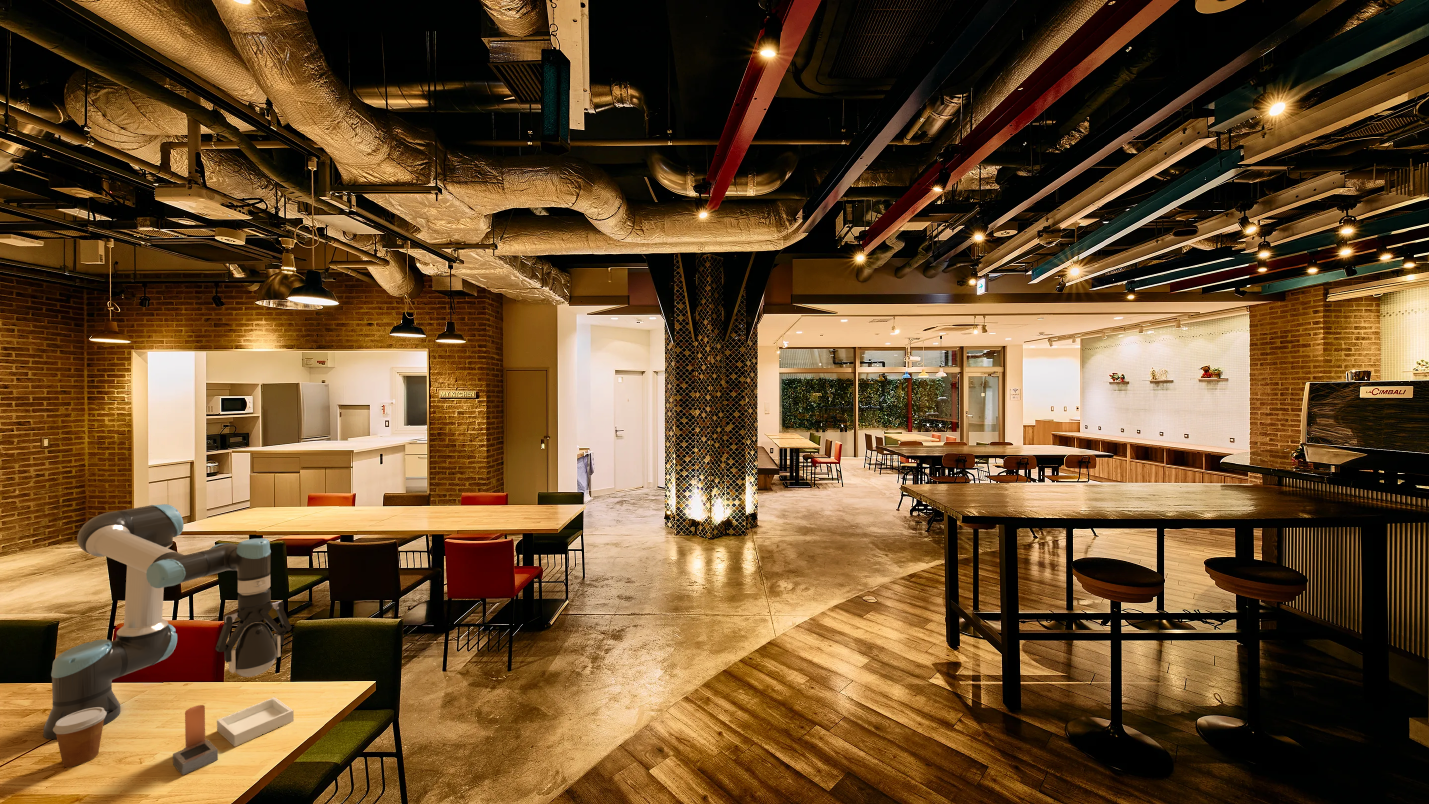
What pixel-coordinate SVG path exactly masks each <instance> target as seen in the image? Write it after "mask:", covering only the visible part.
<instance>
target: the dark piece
mask: <svg viewBox="0 0 1429 804" xmlns="http://www.w3.org/2000/svg"><path fill="white" fill-rule="evenodd" d="M234 650H235V664H236V672H235V673H236V674H237V675H238V676H241V677H244V678H247V677H248V678H249V677H255V676H258V675H261V674H263V673H265V672H266V671H267V672H268V670H269V669H271V667H273V665H274V663H275V662H276V658H278V657H277V649H276V644H275V641H274V635H273V633H272V631H271V630H270V628H269V626H268V625H267V624H266V623H264V622H262V621H256V622H254V623H251V624H248V625H247V627H246V628H245V629H244V630H243V632H242V634H241V635H240V637H239V639H238V640H237V642H236V646H235V648H234Z"/></svg>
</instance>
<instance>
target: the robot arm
mask: <svg viewBox="0 0 1429 804" xmlns="http://www.w3.org/2000/svg"><path fill="white" fill-rule="evenodd" d="M183 531H184V520H183V517H182V514H181V513H180V512H179V510H178V509H177V508H176V507H175V506H173V505H171V504H165V503H164V504H163V503H162V504H151V505H146V506H140V507H134V508H128V509H122V510H117V511H116V510H113V511H109V512H108V511H107V512H104V513H102V514H99V515H97V516H94V517H92V518H91V519H89V520H88V521H86V522H85V523H84V524H83V525H82V526H81V528H80V530H79V531H78V533H77V536H76V537H77V539H76V540H77V541H76V542H77V544H78V547H79V548H80V549H81V550H82V551H83V552H85V553H87V554H89V555H91V556H93V557H100V558H101V557H107V558H108V559H112V560H114V561H117V562H119V563H121V564H124V565H126V578H125V580H126V582H125V598H124V600H125V601H124V620H123V626H121V627H120V628H119V629H118V630H117V631H116V638H115V640H112V641H111V640H110V639H97V640H93V641H89V642H84V643H81V644H79V645H76V646H73V647H71V648H69V649H67V650H65V651H63V652H62V653H60V654H59V655H58V656H57V657H55V659H54V660H53V661H52V669H51V672H50V676H51V685H52V686H51V687H52V695H51V696H52V707H51V710H50V713H49V715H48V717H47V720H46V721H45V725H44V726H43V738H45V739H49V740H57V736H56V733H55V732H54V731H53V728H54V727H55V724H56V722H57V721H58V720H60V719H61V718H63V717H65V716H67V715H69V714H72V713H74V712H77V711H81V710H84V709H89V708H95V707H101V708H104V710H105V711H106V712H107V715H106V716H105V718H104V723H103V726H104V725H106V724H108V723H110V722H112V721H114V720H115V719H116V718H118V716H120V714H121V713H122V711H121V704H120V702H119V700H118V698H117V696H116V695H115V693H114V691H113V687H112V686H113V685H112V684H113V682H112V681H113V680H115V679H118V678H120V677H123V676H126V675H128V674H131V673H134V672H137V671H139V670H143V669H145V668H147V667H150V666H151V667H152V666H154V665H155V664H157V663H159V662H161V661H164V660H166V659H168V658H169V657H170V656H171V655H172V654H173V653H174V650H175V649H176V646H177V643H178V633H176V628H175V627H174V626H173V625H172V624H170V623H169V621H168V620H167V619H164V618H163V611H164V609H163V607H164V593H165V592H164V590H165V588H167V587H175V586H176V585H179V584H182V583H185V582H189V581H193V580H197V579H200V578H204V577H208V576H211V575H215V574H219V573H222V572H225V571H226V572H227V571H235V572H237V593H238V594H237V611H236V612H235V613H232V614H225V615H224V616H223V622H224V623H223V627H222V629H221V632H220V634H219V637H218V641H217V643H216V646H215V651H217V652H219V653H222V652H223V653H224V654H223V655H224V657H223V658H224V661H225V662H226V663H228V671H229V672H230V673H231V674H233V673H236V664H235V648H234V647H235V645H237V643H238V640H239V637H240V635H241V634H242V632H243V630H244V629H245V628H246V627H247V626H248V625H250V624H252V623H255V622H262V621H265V622H266V623H267V624H268V625H269V626H270V627H271V628H272V629H273V630H274V631H275V632H276V633H274V635H273V638H274V641H275V644H276V649H277V657H276V658H279V657H281V656H282V655H281V654H282V653H281V651H282V649H281V647H282V646H281V645H284V644H285V635H286V632H288V631H290V630H291V629H292V625H291V624H290V621H289V618H288V617H287V613H286V611H285V609H284V606H285V603H284V601H281V600H277V601H276V602H272V601H271V600H272V599H271V597H272V595H271V593H272V591H271V588H270V587H271V553H272V551H271V544H270V540H269V539H267V538H262V537H261V538H251V539H245V540H242V541H240V542H239V543H238V544H235V543H231V542H228V543H227V542H226V543H218V544H215V545H214V546H212V547H211V548H209V549H205V550H201V551H197V552H192V553H187V554H183V553H180V552H177V551H175V550H172V549H170V547H171V546H172V545H173V542H174V538H176V537H178V536H180V535H181V534H182V532H183ZM272 609H274V610H275V611H276V613H277V616H278V619H279V621H280V623H281V626H282V627H281V626H280V625H279V624H278V623H277V622H276V621H275V619H273V617H272V616H271V615H270V614H269V613H270V612H271V610H272ZM237 618H238V619H239V621H238V623H237V626H236V627H235V628H234V630H233V632H232V634H230V633H231V630H232V628H233V623H234V622H235V621H236V619H237ZM228 638H229V639H228Z"/></svg>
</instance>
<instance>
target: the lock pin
mask: <svg viewBox="0 0 1429 804" xmlns="http://www.w3.org/2000/svg"><path fill="white" fill-rule="evenodd" d="M184 723H185V724H184V725H185V726H184V731H185V732H184V733H185V737H184V739H185V747H186V748H188V747H190V746H193V745H195V744H198V743H200V742H202V741H205V740H206V706H205V705H203V704H199V705H195V706H191V707H190V708H187V709H186V710H185V712H184Z"/></svg>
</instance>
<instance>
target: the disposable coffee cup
mask: <svg viewBox="0 0 1429 804" xmlns="http://www.w3.org/2000/svg"><path fill="white" fill-rule="evenodd" d="M106 715H107V712H106V711H105V710H104V708H101V707H95V708H89V709H84V710H81V711H77V712H74V713H72V714H69V715H67V716H65V717H63V718H61V719H60V720H58V721H57V722H56V724H55V727H54V728H53V731H54V732H55V733H56V736H57V739H56V740H57V745H58V749H59V754H60V758H61V762H62V766H63V767H65V768H72V767H76V766H79V765H83V764H85V763H88V762H89V761H91V760H93V759H95V758H96V757H97V756H98V755H99V751H100V744H101V740H102V735H103V734H102V733H103V728H104V725H103V723H104V718H105V716H106Z"/></svg>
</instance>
